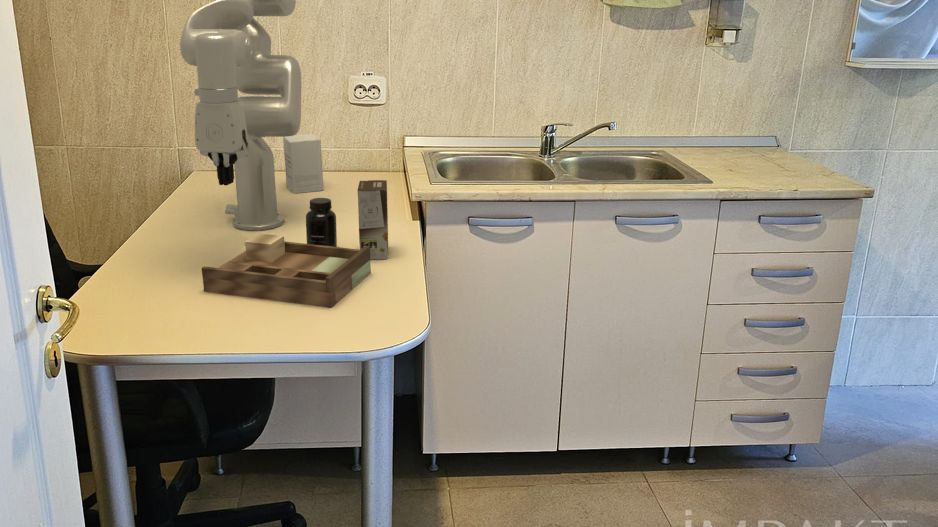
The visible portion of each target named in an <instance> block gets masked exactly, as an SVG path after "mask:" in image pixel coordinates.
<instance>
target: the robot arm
mask: <svg viewBox="0 0 938 527" xmlns="http://www.w3.org/2000/svg"><path fill="white" fill-rule="evenodd" d="M296 2H297V1H296V0H212V1H210V2H208V3H207V4H204V5H203V6H201V7H200V8H198V9H196V10H195V11H193V12H191V13H190V15H189V16H188V17H187V19H186V21H185V24H184V27H183V29H182V32H181V36H180V42H179V47H180V48H179V50H180V55H181V57H182V59H183V60H184V62H186V63H187V65H191V66H194V67H196V72H197V82H198V86H197V87H198V88H196V89H195V90H194V95H195V96H198V98H199V102H197V103H195V104H196V106H195V113H194V114H195V115H194V139H195V148H196V149H197V150H198V151H199V154H200V155H202V156H205V157H208V158H209V159H210V160H211V161H212V162H213V166H215V167H216V174H217V175H216V176H217V180H218V185H219V186H228V185H231V184H233V183H234V180H235V190H236V191H235V192H236V201H237V205H236V204H229V203H228V204H226V205H225V210H224V213H225V214H227V215H233V216H234V217H233V219H232V226H233V227H234V228H237V229H239V230H242V231H243V230H244V231H264V230H269V229H275V228H278V227H280V226H282V225H283V224H284V223H285V217H284V216H283V215H282V214H280V213H278V203H277V202H278V201H277V190H276V189H277V188H276V175H275V159H274V158H275V157H274V154H273V150H272V149H271V147H270V146H269V144H268V143H267V142H266V141H265V140H264V138H266V137H268V138H270V137H271V138H272V137H276V138H277V137H281V138H283V137H287V136H294V135H298V133H299V131H300V128H301V122H302V72H301V71H302V70H301V66H300V64H299V61H298V60H297V59H296V58H295V57H294V56H291V55H286V54H272V38H271V36H270V34H269V33H268V32H267V30H266V29H265V28H264V26H262V24H261V23H259V21H258V20H256V19H255V18H254V17H288V16H291V15H292V13H293V12H294V10H295V8H296ZM239 92H240V93H242V94H244V95H252V96H240V97H239V94H238V93H239ZM253 95H255V96H253ZM261 95H262V96H261ZM263 95H266V96H263ZM273 95H275V96H273ZM276 95H277V96H276Z"/></svg>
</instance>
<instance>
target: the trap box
mask: <svg viewBox="0 0 938 527" xmlns="http://www.w3.org/2000/svg"><path fill="white" fill-rule="evenodd" d="M284 242H285V254H284V255H282V256H281V257H279V258H278V259H276V260H275V261H273V262H263V261H255V260H246V250H245V251H243V252H241V253H240V254H238V255H236V256H235V257H234V258H232V259H230V260H228V261H227V262H225V263H224V264H222V265H220V266H218V267H214V266H202V267H201V275H202V284H203V292H208V293H216V294H223V295H230V296H231V295H232V296H237V297H238V296H239V297H246V298H253V299H254V298H255V299H264V300H270V301H279V302H286V303H295V304H300V305H301V304H302V305H307V306H308V305H309V306H310V305H311V306H317V307H323V308H324V307H326V308H333V307H334V306H335V305H336V304H337V303H338V302H339V301H341V299H343V298H344V297H345V296H346V295H348V294H349V293H350V292H351V291H352V290H353V289H354V288H355V287H357V285H359V284H360V283H361V282H362V281H363V280H364V279H365V278H367V277H368V276H369V275H370V274H371V273H372V269H371V267H372V266H371V264H372V263H371V262H372V261H371V259H370V246H365V247H363V248H362V249H361V250H360V248H359V249H357V248H350V247H341V246H339V247H338V246H337V247H332V246H322V245H313V244H307V243H301V242H295V241H294V242H292V241H285V240H284ZM350 290H351V291H350ZM349 291H350V292H349Z"/></svg>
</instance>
